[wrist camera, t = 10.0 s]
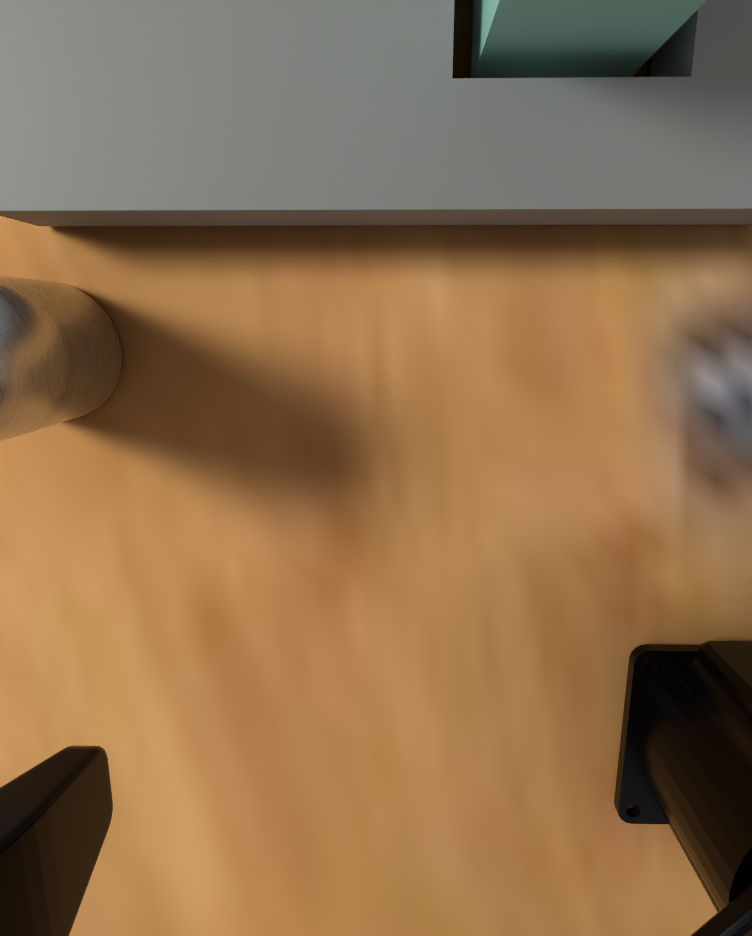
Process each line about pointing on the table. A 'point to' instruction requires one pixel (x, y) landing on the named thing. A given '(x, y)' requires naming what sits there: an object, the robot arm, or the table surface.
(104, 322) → the round peg
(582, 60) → the square peg
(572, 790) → the table surface
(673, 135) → the plate
